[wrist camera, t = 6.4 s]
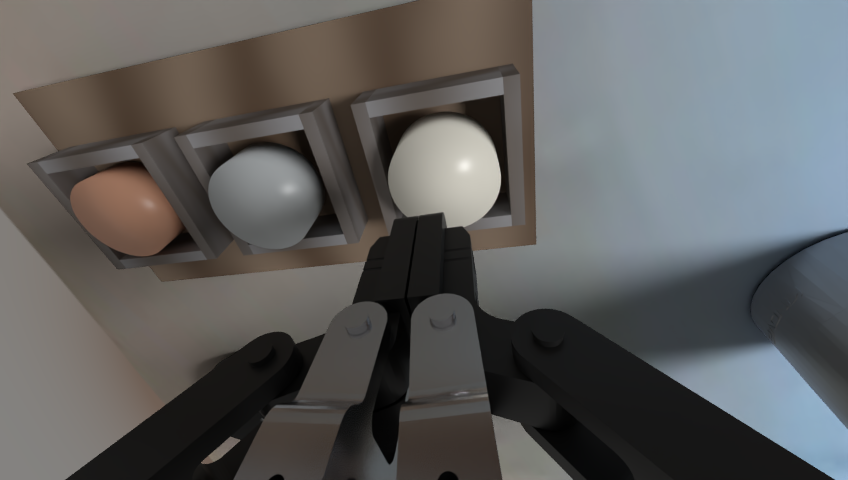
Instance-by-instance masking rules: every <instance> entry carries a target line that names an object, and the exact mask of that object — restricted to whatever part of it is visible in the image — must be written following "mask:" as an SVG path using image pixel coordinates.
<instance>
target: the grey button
mask: <svg viewBox="0 0 848 480" xmlns="http://www.w3.org/2000/svg"><path fill="white" fill-rule="evenodd" d="M208 194H209V200H210V203H211V206H212V209H213V211H214V212H215V214H216V216H217V217H218V219H219V220H220V221H221V223H222V224H223V225H224V226H225V227H226V228H227V229H228V230H229V231H230V232H232V233H233V234H234V235H236V236H237V237H239V238H240V239H242V240H244V241H246V242H248V243H250V244H252V245H255V246H258V247H262V248H267V249H283V248H288V247H291V246H293V245H295V244H297V243H298V242H300V241H301V240H302V239H303V238H304V237H305V235H306V234H307V232H308V231H309V229H310V228H311V226H312V225H313V223H314V221H315V220H316V218H317V217H318V215H319V213H320V212H321V210H322V208H323V205H324V202H325V189H324V185H323V182H322V179H321V177H320V175H319V173H318V171H317V170H316V169H315V167H314V166H313V165H312V164H311V162H310V161H309V160H308V159H307V158H305V157H304V156H303V155H302V154H300V153H299V152H297V151H296V150H294V149H292V148H290V147H288V146H285V145H282V144H279V143H273V142H259V143H255V144H252V145H250V146H248V147H246V148H245V149H243V150H242V151H240V152H239V153H238V154H236V155H235V156H234V157H232V158H231V159H229V160H228V161H227V162H225V163H224V164H223V165H221V166H220V167H219V168H218V169H217V170H216V171H215V172H214V173H213V175H212V176H211V179H210V182H209V187H208Z"/></svg>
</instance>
